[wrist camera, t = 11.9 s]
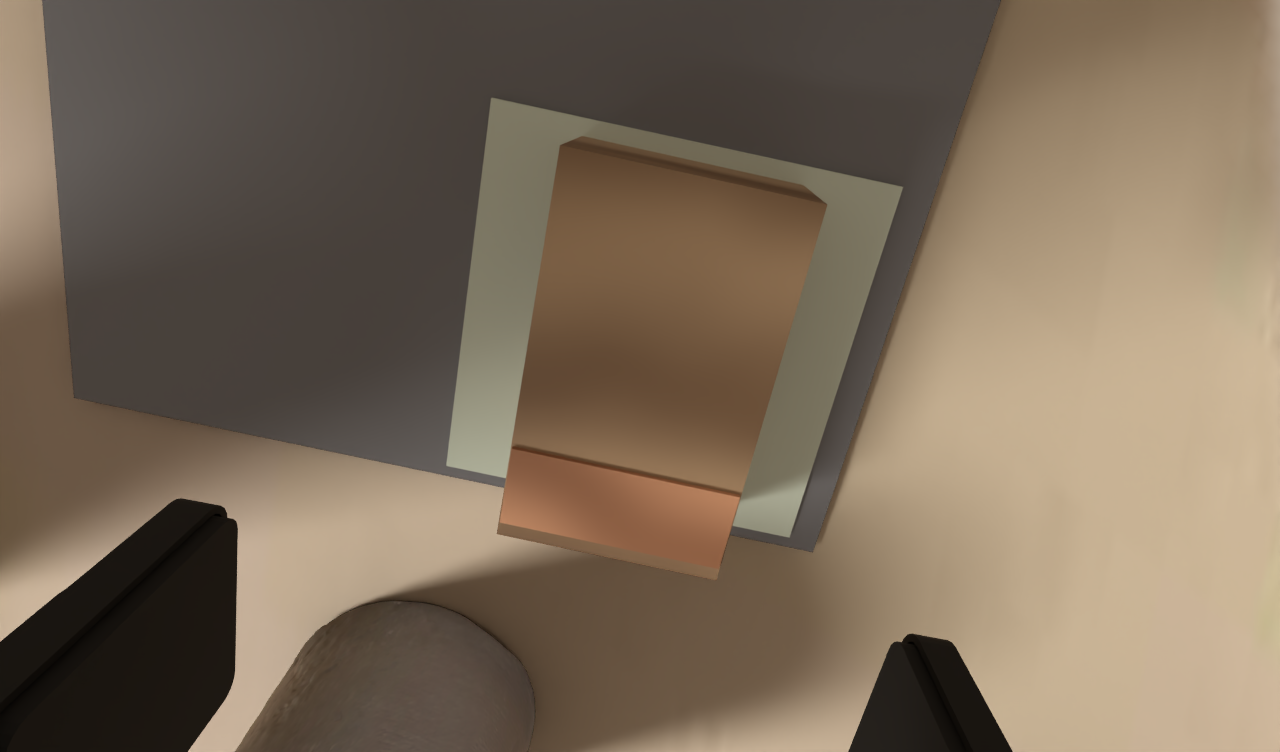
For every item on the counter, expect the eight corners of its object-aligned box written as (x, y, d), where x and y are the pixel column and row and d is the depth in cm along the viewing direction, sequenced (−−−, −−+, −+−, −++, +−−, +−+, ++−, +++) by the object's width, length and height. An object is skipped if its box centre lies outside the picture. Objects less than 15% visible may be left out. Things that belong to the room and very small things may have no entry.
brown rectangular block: (582, 135, 21) (558, 145, 18) (803, 185, 22) (828, 205, 18) (524, 468, 25) (495, 536, 21) (712, 509, 25) (716, 583, 22)
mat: (82, 393, 26) (69, 400, 25) (29, -324, 19) (9, -336, 18) (810, 545, 26) (813, 555, 26) (1029, -100, 19) (1039, -106, 19)
